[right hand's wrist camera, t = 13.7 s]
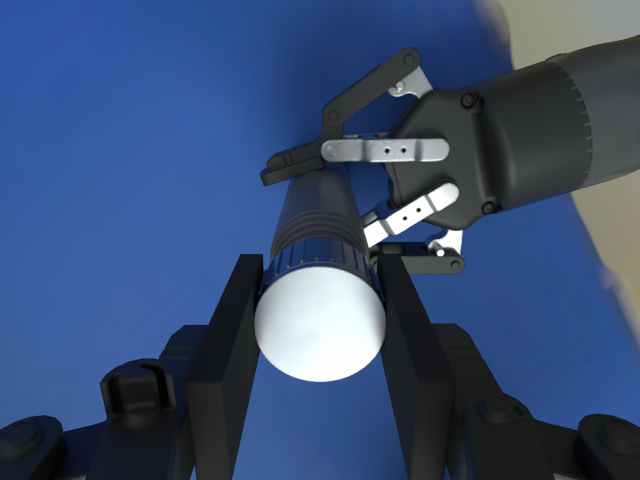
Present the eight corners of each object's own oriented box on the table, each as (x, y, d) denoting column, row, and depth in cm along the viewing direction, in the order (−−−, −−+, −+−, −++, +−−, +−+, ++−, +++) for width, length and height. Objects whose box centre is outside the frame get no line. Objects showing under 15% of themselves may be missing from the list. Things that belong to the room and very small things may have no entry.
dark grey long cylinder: (299, 209, 33) (271, 384, 14) (286, 156, 31) (237, 272, 13) (352, 198, 32) (396, 362, 14) (341, 144, 31) (375, 245, 12)
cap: (372, 344, 16) (381, 387, 13) (260, 338, 16) (250, 380, 13) (385, 239, 14) (397, 268, 12) (261, 233, 14) (250, 260, 12)
